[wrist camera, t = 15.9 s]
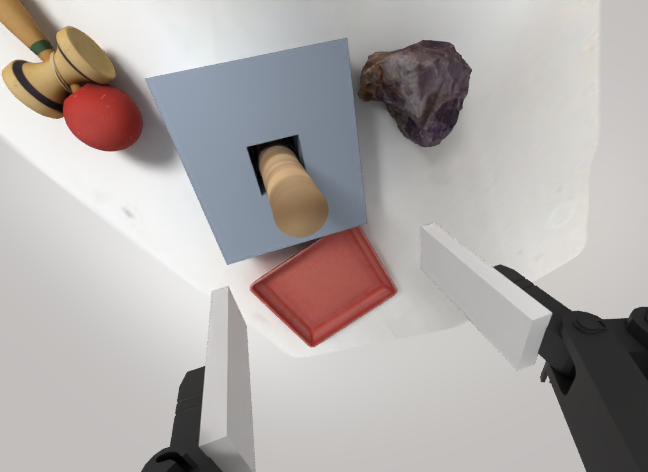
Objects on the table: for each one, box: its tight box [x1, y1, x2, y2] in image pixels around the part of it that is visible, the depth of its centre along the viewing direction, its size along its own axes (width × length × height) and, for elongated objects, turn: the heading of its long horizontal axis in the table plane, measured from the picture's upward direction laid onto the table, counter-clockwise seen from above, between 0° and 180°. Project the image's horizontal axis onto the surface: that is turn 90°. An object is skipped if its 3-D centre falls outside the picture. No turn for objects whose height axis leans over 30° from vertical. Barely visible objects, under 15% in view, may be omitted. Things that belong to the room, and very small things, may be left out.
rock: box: [358, 40, 472, 147], centre depth 33 cm, size 12×9×10 cm
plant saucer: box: [250, 226, 397, 347], centre depth 47 cm, size 18×18×3 cm
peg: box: [256, 139, 329, 238], centre depth 29 cm, size 4×4×18 cm
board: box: [145, 38, 367, 265], centre depth 34 cm, size 20×18×6 cm
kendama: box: [0, 0, 143, 151], centre depth 25 cm, size 8×6×18 cm
